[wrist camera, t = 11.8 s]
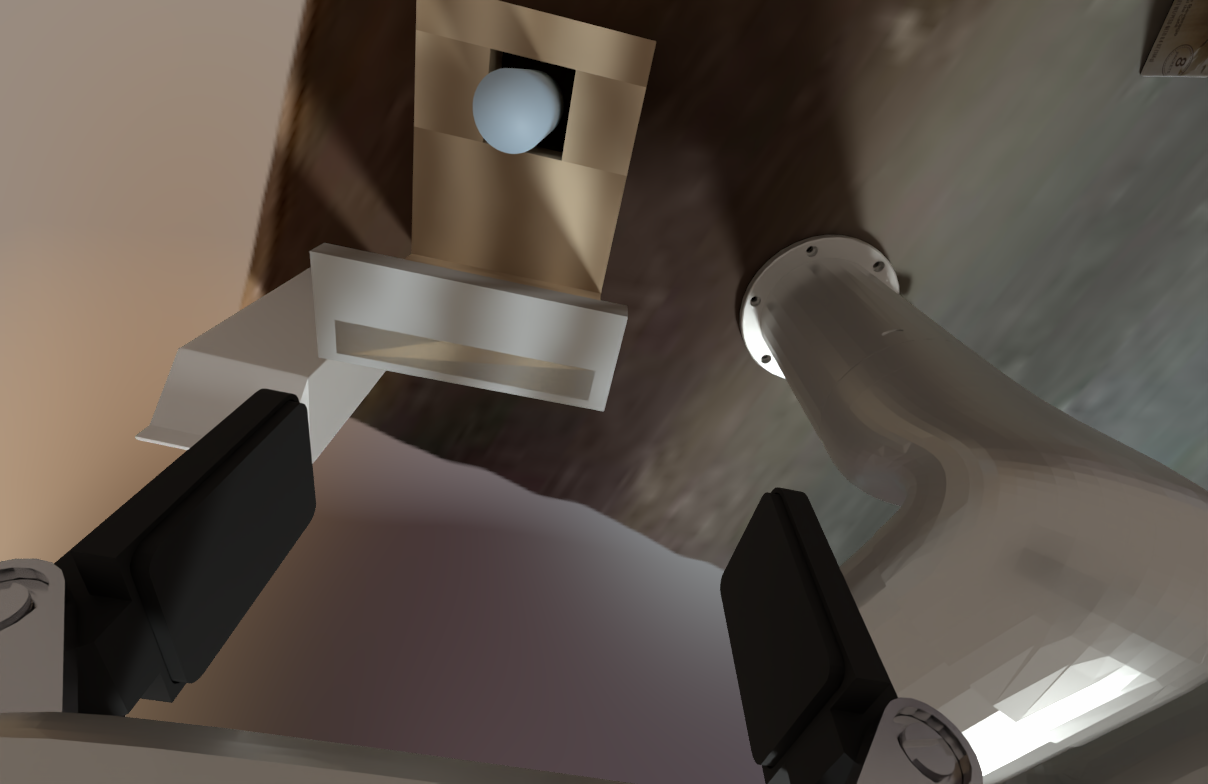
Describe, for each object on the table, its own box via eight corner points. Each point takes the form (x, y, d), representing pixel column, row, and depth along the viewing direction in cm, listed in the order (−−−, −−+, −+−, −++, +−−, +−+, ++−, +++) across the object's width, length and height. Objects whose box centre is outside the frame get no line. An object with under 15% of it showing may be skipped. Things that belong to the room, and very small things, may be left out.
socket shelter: (666, 48, 34) (701, 29, 20) (607, 306, 44) (603, 411, 30) (421, -15, 33) (281, -82, 19) (415, 266, 42) (318, 357, 28)
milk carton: (311, 265, 42) (120, 382, 26) (399, 288, 43) (268, 415, 27) (312, 341, 46) (146, 486, 30) (394, 360, 47) (276, 511, 30)
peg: (568, 77, 35) (553, 78, 27) (559, 141, 37) (542, 161, 29) (509, 63, 35) (475, 59, 26) (503, 128, 37) (469, 144, 28)
